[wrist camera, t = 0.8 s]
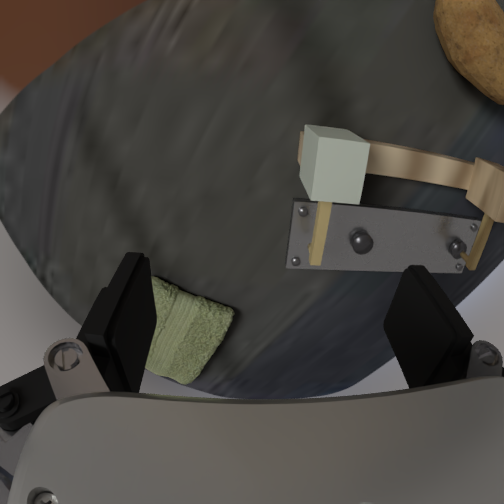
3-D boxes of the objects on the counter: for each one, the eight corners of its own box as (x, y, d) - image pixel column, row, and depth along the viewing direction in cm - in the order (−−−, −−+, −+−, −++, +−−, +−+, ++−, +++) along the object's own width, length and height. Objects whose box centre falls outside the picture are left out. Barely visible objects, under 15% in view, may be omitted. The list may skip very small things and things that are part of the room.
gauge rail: (493, 160, 29) (534, 184, 22) (466, 247, 36) (498, 282, 29) (301, 121, 28) (318, 136, 21) (288, 236, 35) (298, 279, 28)
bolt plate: (477, 217, 33) (485, 224, 32) (458, 269, 37) (464, 277, 36) (293, 197, 32) (295, 205, 31) (285, 263, 36) (286, 273, 35)
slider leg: (347, 129, 27) (370, 143, 21) (327, 247, 33) (341, 281, 28) (305, 124, 26) (319, 136, 21) (290, 245, 33) (298, 280, 28)
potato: (462, 115, 27) (507, 132, 20) (395, 5, 21) (436, -9, 14) (508, 80, 24) (553, 91, 17) (451, -23, 18) (494, -34, 11)
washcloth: (119, 348, 45) (113, 364, 42) (146, 266, 37) (139, 282, 34) (195, 376, 48) (193, 392, 46) (243, 305, 40) (242, 323, 38)
